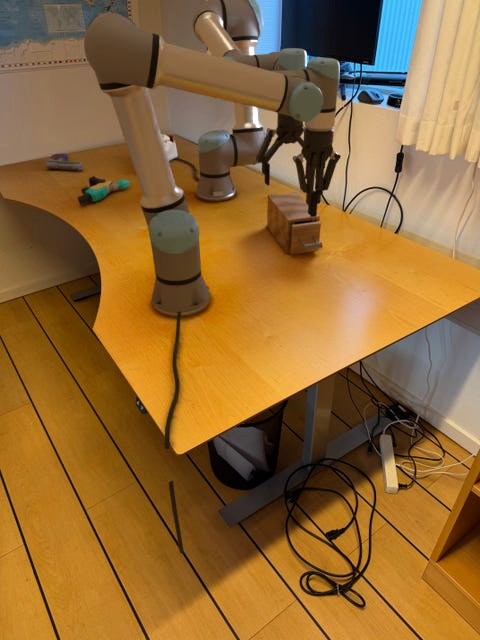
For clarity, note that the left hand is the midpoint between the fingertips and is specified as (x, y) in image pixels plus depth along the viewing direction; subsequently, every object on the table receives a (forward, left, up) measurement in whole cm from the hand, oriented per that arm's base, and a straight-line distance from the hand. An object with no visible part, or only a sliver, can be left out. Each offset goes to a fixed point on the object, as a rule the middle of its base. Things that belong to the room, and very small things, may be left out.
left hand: (312, 214), depth 135 cm
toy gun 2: (+48, +81, -15) cm, 96 cm away
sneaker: (+87, +65, -15) cm, 109 cm away
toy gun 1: (+82, +105, -15) cm, 135 cm away
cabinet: (+15, +5, -15) cm, 22 cm away
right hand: (+20, +7, +2) cm, 22 cm away
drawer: (+9, +3, -14) cm, 17 cm away
